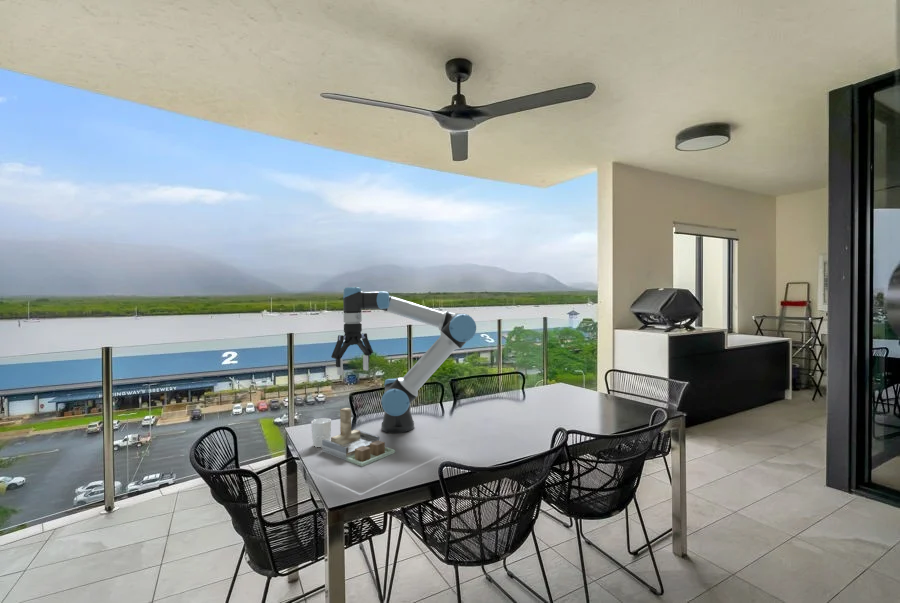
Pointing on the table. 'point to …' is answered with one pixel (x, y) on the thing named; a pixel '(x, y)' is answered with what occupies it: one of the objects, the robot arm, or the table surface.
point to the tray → (373, 457)
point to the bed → (348, 445)
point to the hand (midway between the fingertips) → (353, 372)
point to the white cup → (321, 431)
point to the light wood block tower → (345, 428)
